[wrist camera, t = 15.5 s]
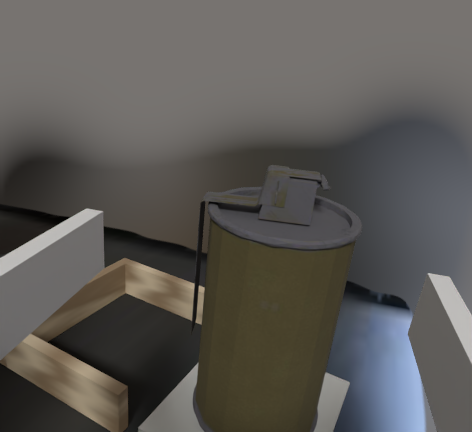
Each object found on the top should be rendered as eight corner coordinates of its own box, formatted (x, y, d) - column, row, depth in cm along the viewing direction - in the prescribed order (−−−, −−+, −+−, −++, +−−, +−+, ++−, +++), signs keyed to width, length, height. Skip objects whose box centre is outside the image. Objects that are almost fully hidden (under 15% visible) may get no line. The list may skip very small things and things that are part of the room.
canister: (311, 368, 38) (355, 164, 31) (323, 471, 28) (391, 208, 21) (199, 351, 38) (216, 147, 31) (173, 447, 29) (189, 183, 21)
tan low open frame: (-1, 362, 35) (-6, 325, 34) (124, 286, 49) (124, 257, 47) (118, 436, 30) (118, 395, 28) (223, 327, 43) (226, 295, 42)
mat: (138, 432, 30) (138, 427, 30) (226, 335, 42) (227, 331, 42) (299, 528, 25) (300, 523, 25) (348, 386, 37) (349, 382, 36)
